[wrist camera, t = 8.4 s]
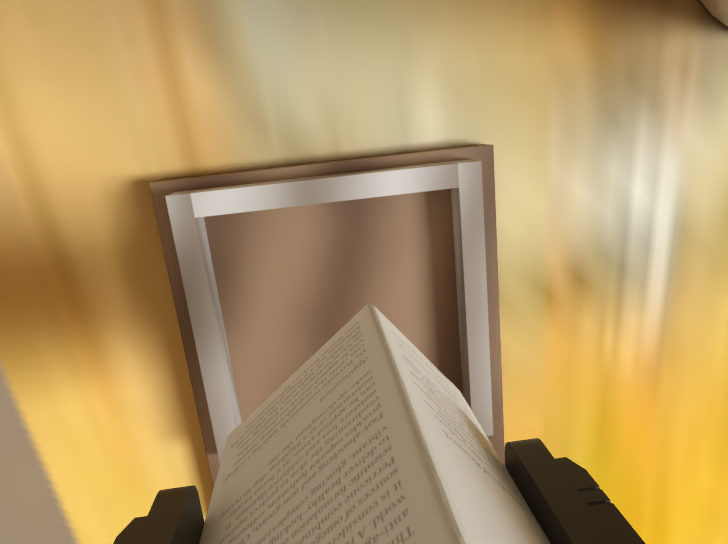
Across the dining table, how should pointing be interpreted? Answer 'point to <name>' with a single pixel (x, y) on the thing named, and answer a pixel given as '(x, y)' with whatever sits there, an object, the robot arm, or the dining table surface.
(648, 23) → the dining table surface
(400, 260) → the brown shallow box
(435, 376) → the skincare box
